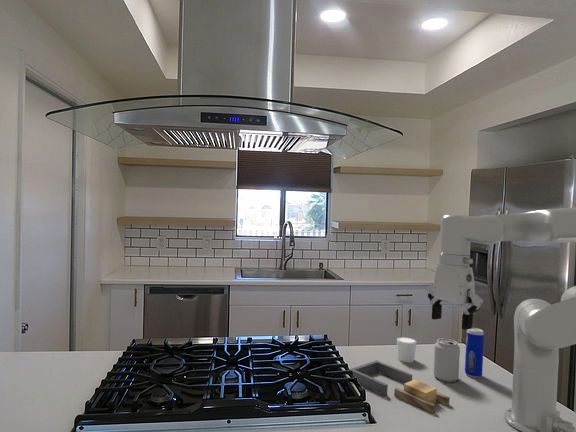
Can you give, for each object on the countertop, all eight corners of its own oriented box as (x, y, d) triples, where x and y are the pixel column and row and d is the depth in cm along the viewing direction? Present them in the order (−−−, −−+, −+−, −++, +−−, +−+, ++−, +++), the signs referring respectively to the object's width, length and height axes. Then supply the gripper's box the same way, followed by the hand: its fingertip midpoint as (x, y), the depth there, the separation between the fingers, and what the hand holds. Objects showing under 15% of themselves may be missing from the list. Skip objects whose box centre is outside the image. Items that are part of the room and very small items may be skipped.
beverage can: (461, 372, 132) (463, 327, 132) (473, 371, 134) (475, 326, 134) (472, 379, 127) (475, 332, 127) (485, 377, 129) (487, 331, 129)
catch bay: (412, 384, 122) (412, 374, 122) (384, 395, 113) (385, 385, 113) (376, 369, 132) (376, 360, 132) (348, 378, 124) (349, 369, 124)
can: (460, 384, 123) (462, 346, 123) (435, 381, 124) (437, 343, 124) (455, 374, 130) (457, 338, 130) (431, 372, 132) (433, 336, 132)
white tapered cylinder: (415, 357, 145) (415, 338, 145) (416, 364, 138) (417, 344, 138) (395, 354, 147) (396, 336, 147) (396, 361, 140) (397, 341, 140)
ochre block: (436, 402, 111) (436, 388, 111) (425, 407, 108) (425, 393, 108) (414, 392, 117) (415, 379, 116) (403, 397, 113) (404, 383, 113)
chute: (449, 404, 110) (449, 397, 110) (432, 413, 104) (432, 405, 104) (411, 388, 119) (411, 381, 119) (394, 395, 114) (394, 388, 114)
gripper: (492, 264, 101) (489, 331, 102) (437, 256, 116) (434, 314, 117) (473, 265, 98) (470, 335, 98) (419, 256, 113) (416, 316, 113)
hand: (450, 323), depth 107 cm, fingers open, 9 cm apart
